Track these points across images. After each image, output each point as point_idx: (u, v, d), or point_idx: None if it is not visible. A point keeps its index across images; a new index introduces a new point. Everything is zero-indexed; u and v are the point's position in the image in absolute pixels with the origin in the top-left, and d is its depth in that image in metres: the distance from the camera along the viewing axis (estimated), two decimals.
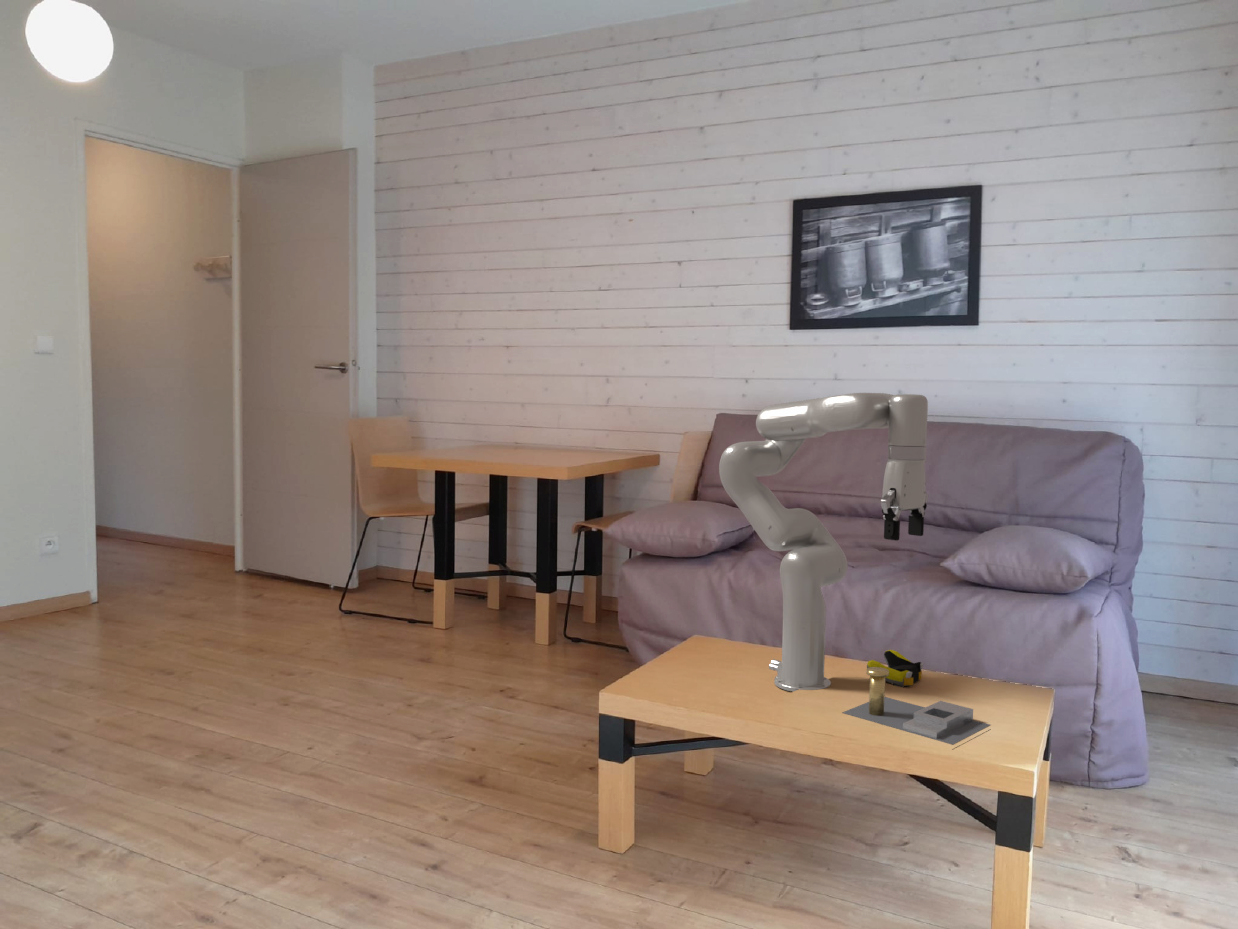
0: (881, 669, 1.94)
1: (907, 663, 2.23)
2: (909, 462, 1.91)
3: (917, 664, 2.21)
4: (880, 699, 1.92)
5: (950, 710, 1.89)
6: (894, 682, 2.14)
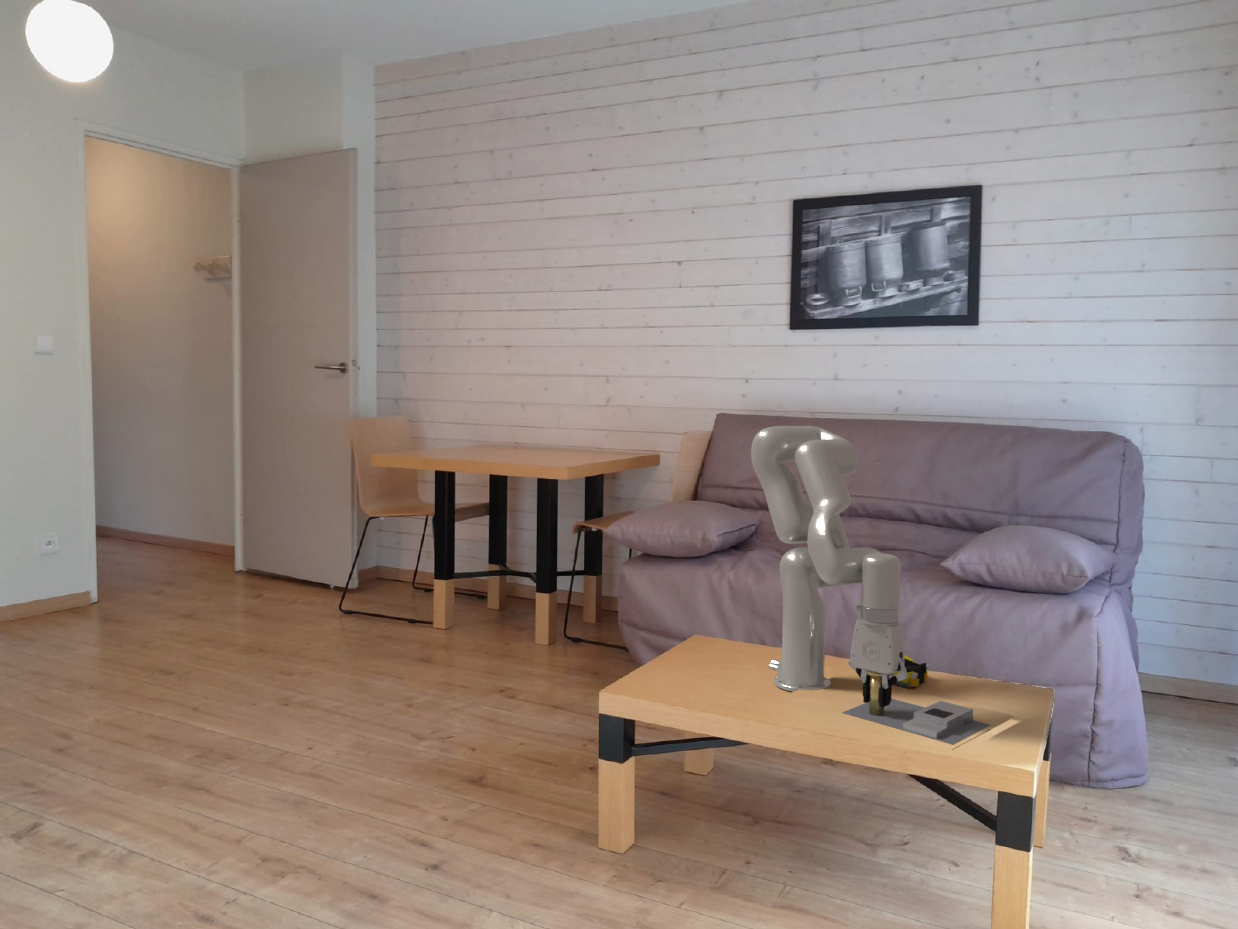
0: None
1: (912, 664, 2.22)
2: None
3: (923, 665, 2.20)
4: None
5: (950, 710, 1.89)
6: (900, 683, 2.14)
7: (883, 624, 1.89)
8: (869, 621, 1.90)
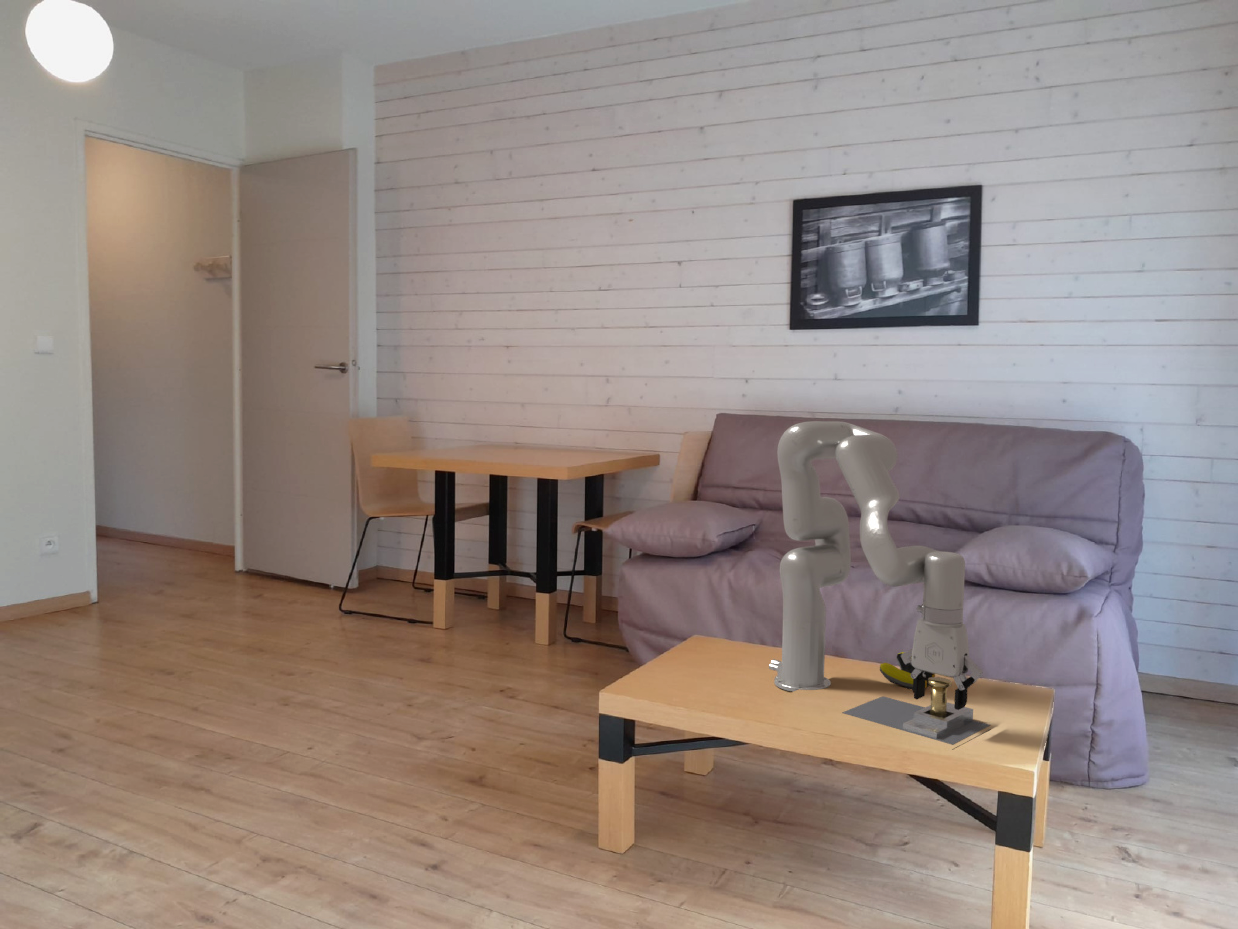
0: (943, 679, 1.87)
1: None
2: None
3: None
4: (942, 710, 1.86)
5: (950, 710, 1.89)
6: (907, 685, 2.12)
7: (947, 625, 1.82)
8: (932, 622, 1.83)
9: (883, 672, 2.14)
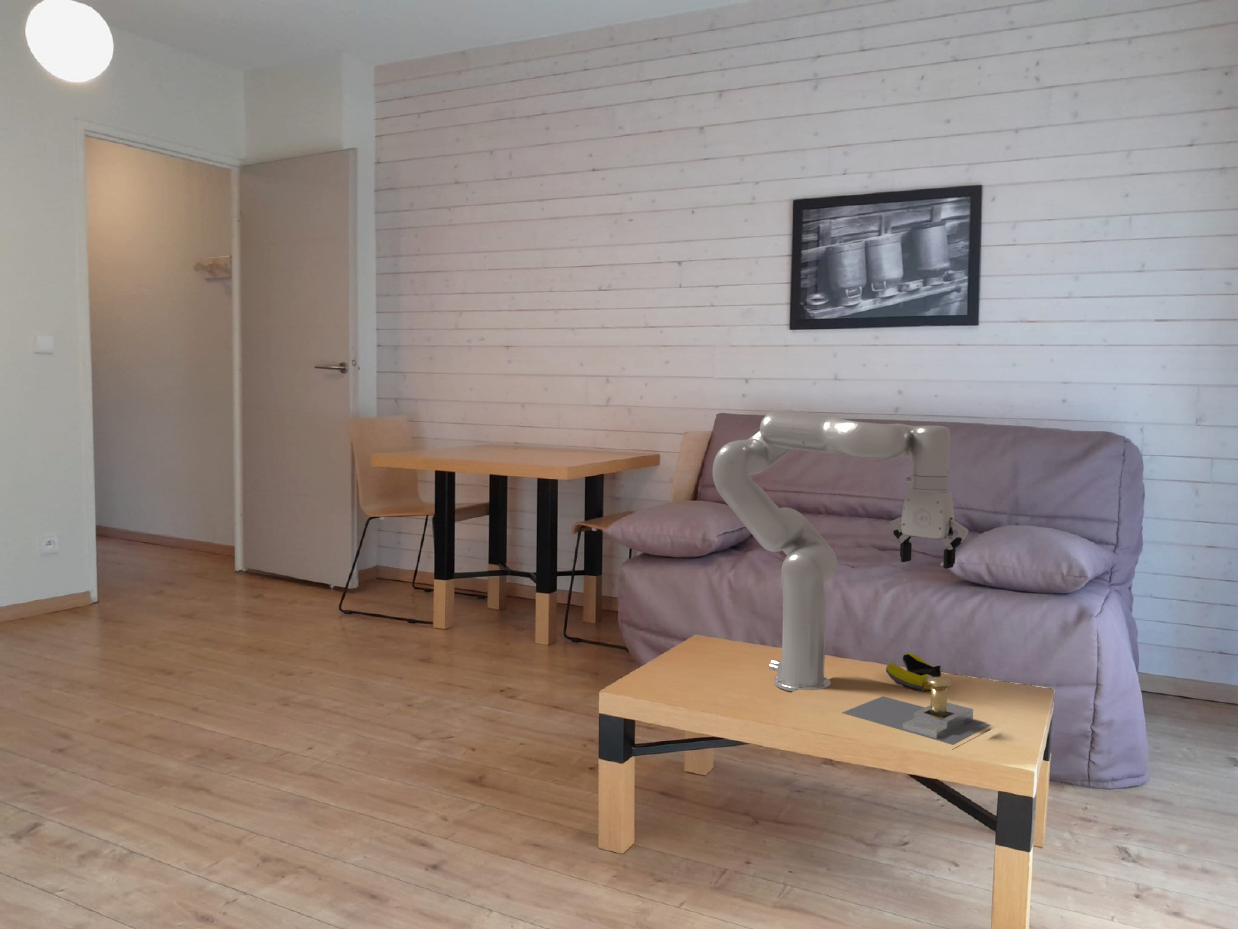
0: (943, 679, 1.87)
1: (926, 667, 2.20)
2: None
3: (937, 668, 2.18)
4: (942, 710, 1.86)
5: (950, 710, 1.89)
6: (914, 686, 2.12)
7: (934, 490, 1.96)
8: (920, 488, 1.97)
9: (889, 673, 2.14)
